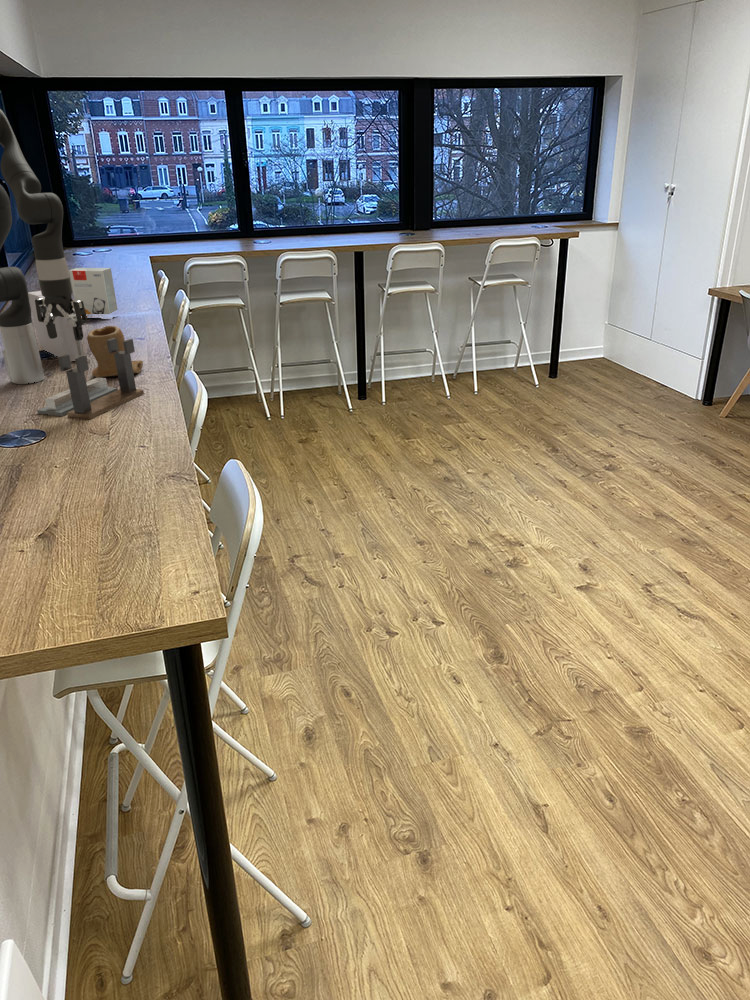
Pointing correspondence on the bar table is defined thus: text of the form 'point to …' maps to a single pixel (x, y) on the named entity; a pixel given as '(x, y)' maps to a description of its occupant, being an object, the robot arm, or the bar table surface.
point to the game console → (65, 333)
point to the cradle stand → (105, 403)
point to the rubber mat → (70, 407)
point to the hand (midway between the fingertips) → (66, 339)
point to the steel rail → (65, 396)
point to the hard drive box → (94, 289)
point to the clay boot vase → (101, 353)
